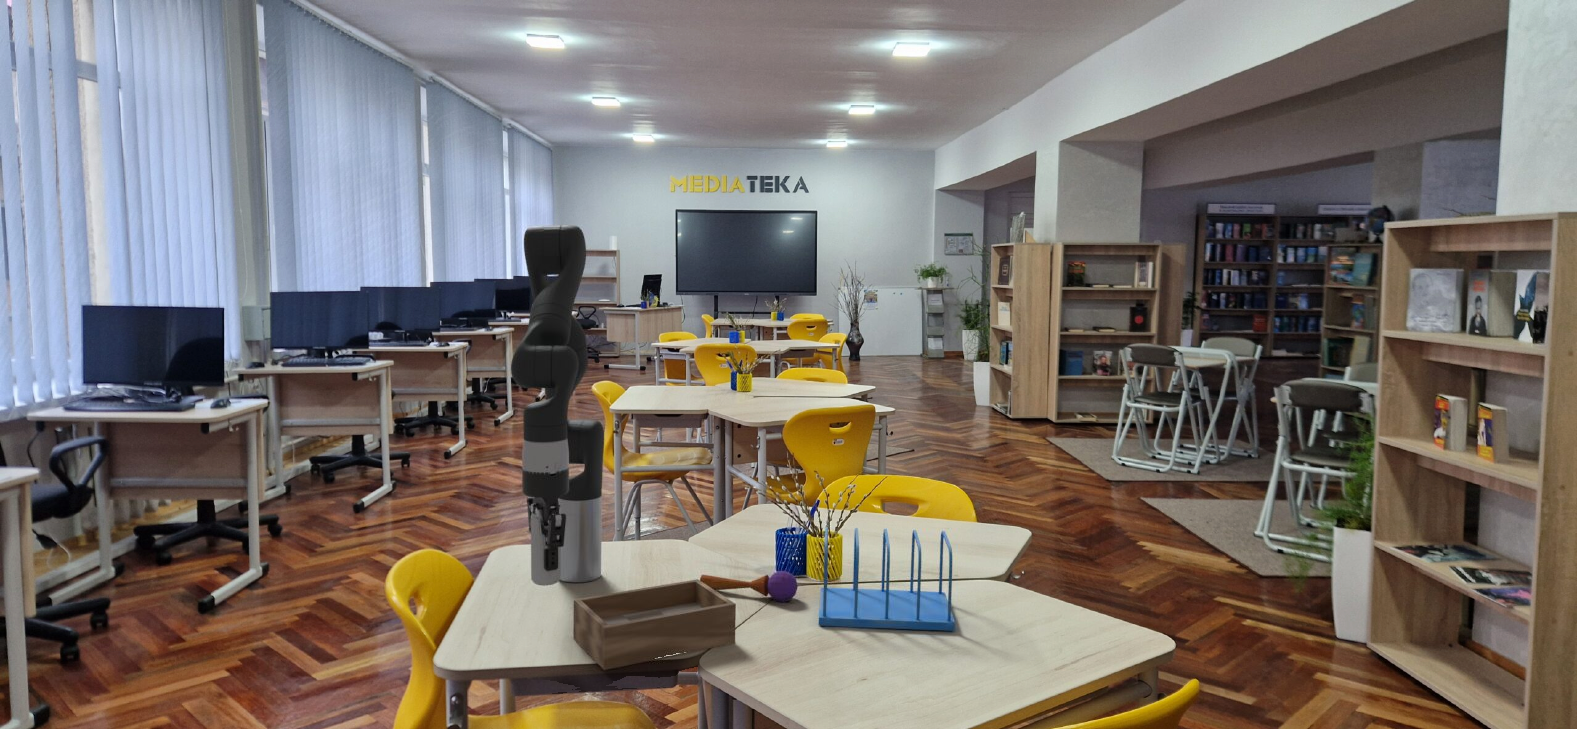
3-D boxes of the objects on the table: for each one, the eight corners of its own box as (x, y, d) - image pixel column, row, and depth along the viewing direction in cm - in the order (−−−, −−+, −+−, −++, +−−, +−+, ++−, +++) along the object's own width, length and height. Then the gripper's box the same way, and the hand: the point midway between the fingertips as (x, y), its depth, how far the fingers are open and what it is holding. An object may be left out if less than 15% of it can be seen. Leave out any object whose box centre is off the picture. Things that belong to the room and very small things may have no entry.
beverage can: (553, 587, 154) (552, 516, 153) (525, 585, 155) (525, 514, 154) (565, 578, 159) (565, 509, 158) (539, 575, 160) (538, 507, 158)
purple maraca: (708, 566, 194) (800, 570, 188) (707, 595, 193) (800, 600, 187) (697, 569, 188) (792, 573, 182) (696, 599, 187) (792, 604, 182)
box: (573, 638, 164) (573, 599, 163) (697, 615, 176) (697, 579, 175) (604, 670, 151) (604, 628, 150) (734, 642, 163) (735, 604, 163)
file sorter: (944, 601, 188) (947, 526, 187) (955, 633, 171) (958, 551, 169) (820, 595, 189) (822, 521, 188) (818, 627, 172) (820, 546, 171)
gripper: (510, 459, 159) (511, 556, 161) (536, 476, 147) (536, 581, 149) (554, 455, 163) (554, 550, 165) (582, 472, 151) (582, 574, 153)
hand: (546, 564), depth 157 cm, fingers closed on beverage can, 4 cm apart
